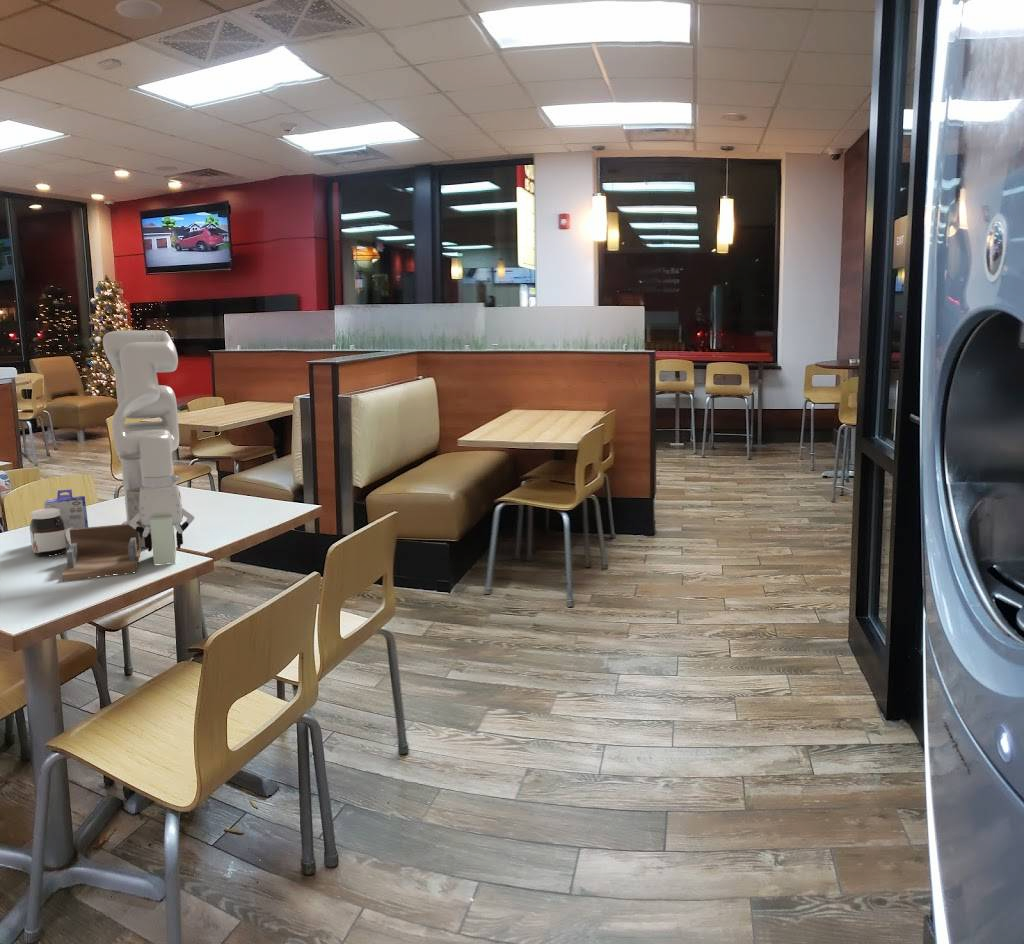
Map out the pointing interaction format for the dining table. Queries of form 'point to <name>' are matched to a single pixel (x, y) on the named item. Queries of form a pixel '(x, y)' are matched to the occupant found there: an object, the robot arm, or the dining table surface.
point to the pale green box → (163, 540)
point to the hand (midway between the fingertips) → (164, 548)
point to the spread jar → (48, 532)
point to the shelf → (102, 551)
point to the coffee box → (135, 510)
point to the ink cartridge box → (70, 509)
